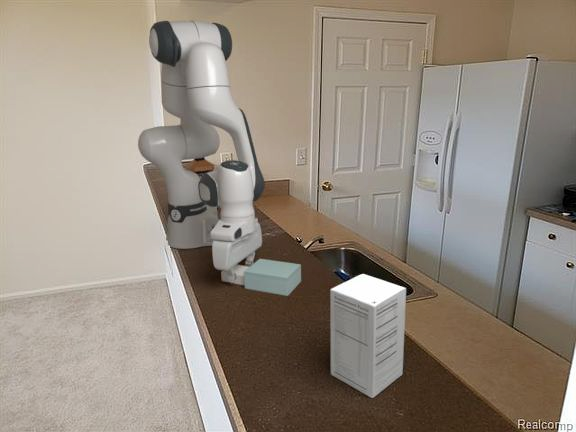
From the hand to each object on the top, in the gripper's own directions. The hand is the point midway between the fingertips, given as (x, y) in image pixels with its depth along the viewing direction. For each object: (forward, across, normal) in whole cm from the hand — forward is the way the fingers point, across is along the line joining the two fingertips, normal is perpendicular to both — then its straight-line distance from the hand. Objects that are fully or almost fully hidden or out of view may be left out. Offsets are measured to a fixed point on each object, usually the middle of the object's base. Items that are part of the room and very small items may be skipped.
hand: (241, 273), depth 115 cm
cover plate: (+2, 0, +2) cm, 3 cm away
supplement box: (+2, +27, +40) cm, 49 cm away
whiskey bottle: (+2, -58, -51) cm, 77 cm away
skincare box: (+2, -42, -40) cm, 58 cm away
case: (+2, 0, +10) cm, 10 cm away
